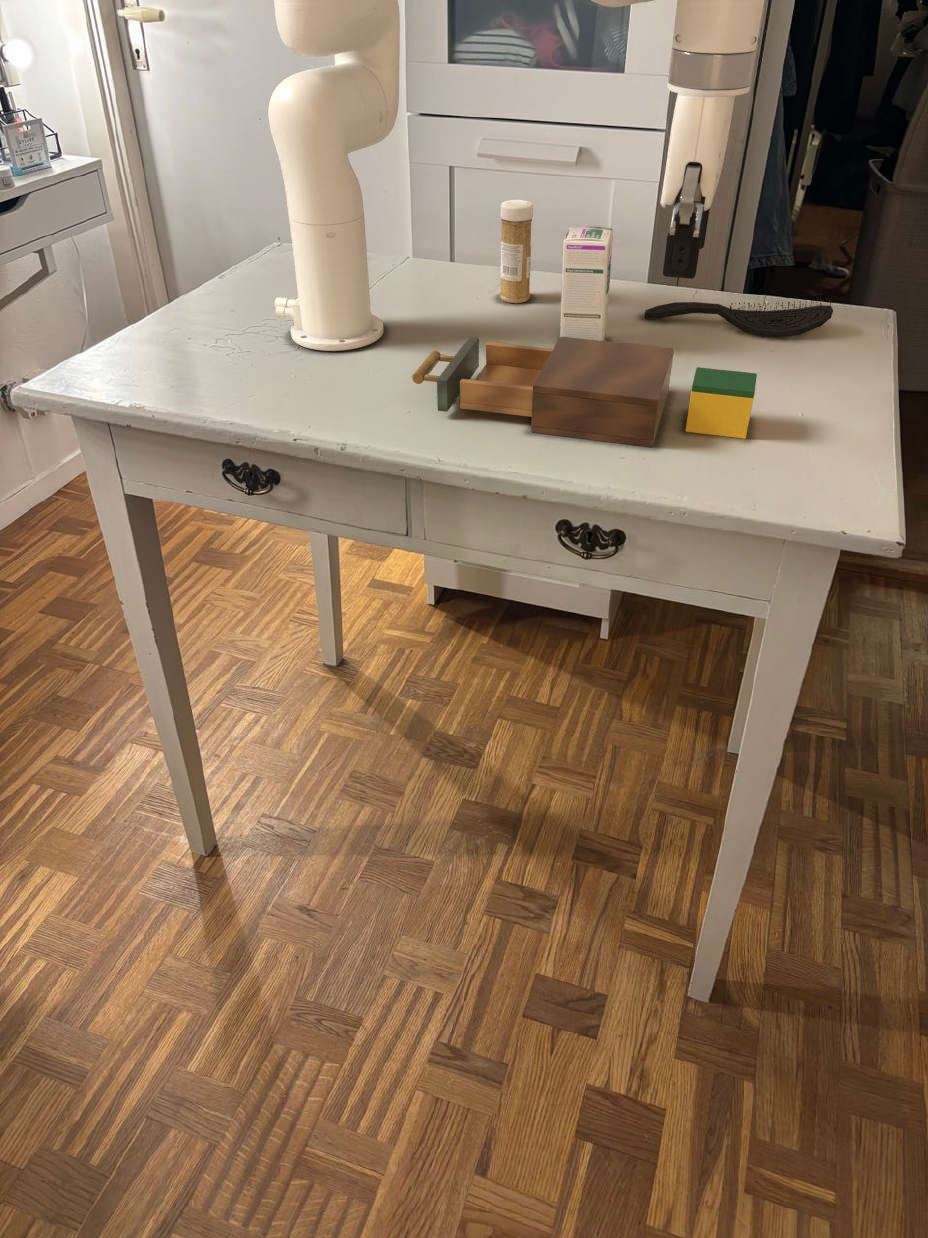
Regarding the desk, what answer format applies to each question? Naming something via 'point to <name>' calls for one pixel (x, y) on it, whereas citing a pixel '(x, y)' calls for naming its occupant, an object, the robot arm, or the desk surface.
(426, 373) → the drawer
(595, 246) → the syrup box
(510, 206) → the sprinkles bottle
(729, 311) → the hairbrush
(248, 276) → the desk surface
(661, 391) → the drawer unit
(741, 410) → the sponge
